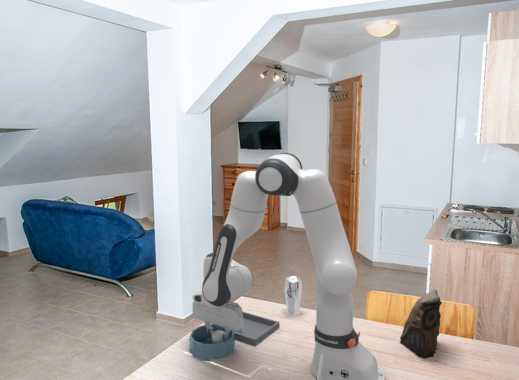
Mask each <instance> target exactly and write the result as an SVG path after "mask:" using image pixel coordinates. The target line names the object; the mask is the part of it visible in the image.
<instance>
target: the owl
mask: <svg viewBox="0 0 519 380" xmlns="http://www.w3.org/2000/svg"><path fill="white" fill-rule="evenodd" d="M440 298H441V297H440V296H439V295H438V290H437V289H436V288H435V289H434V290H431V291H430V292H427V293H425V294H423V295H422V296H421V297H420V298H418V300H417V301H416V302H415V303H414V305H413V306H412V308H411V310H410V311H409V314H408V318H407V319H406V321H405V323H404V325H403V330H402V333H401V335H400V337H399V339H400V341H399V344H401V345H402V346H404V347H405V348H406V349H408V350H409V351H410V352H411V353H413V354H414V355H415V356H416V357H418V358H421V359H424V360H425V359H426V360H427V359H430V358H433V357H435V354H436V353H437V352H436V351H437V350H438V348H437V346H438V336H439V335H440V329H441V315H442V314H441V312H440V310H441V309H440V308H441V305H442V303H443V302H442V300H441V299H440Z"/></svg>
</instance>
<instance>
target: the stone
mask: <svg viewBox="0 0 519 380" xmlns="http://www.w3.org/2000/svg"><path fill="white" fill-rule="evenodd" d="M223 333H225V332H224V331H221V330H217V331H214V332H212V344H217V343H221V342H225V339H224V338H223Z"/></svg>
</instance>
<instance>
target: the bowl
mask: <svg viewBox="0 0 519 380" xmlns="http://www.w3.org/2000/svg"><path fill="white" fill-rule="evenodd" d="M210 324H211V326H212V327H213V328H214V330H213V331H217V330H221V331H224V332H226V330H225V328H224V327H221V326H218V325H215V324H212V323H210ZM235 346H236V339H235V332H234V331H233V330H231V331H230V333H229V338H228V339H225V342H221V343H217V344H212V334H209V333H207V328H206V326H205V324H203V325H199V326H198V327H196V328H194V329H192V330H191V333H190V334H189V350H190V351H191V355H192V356H193V358H195V359H197V360H200V361H202V362H203V361H204V362H208V361H209V362H210V361H211V359H213V360H215V359H219V358H220V359H221V358H223V357H226V356H228V355H229V354H231V353H233V351H234V349H235Z"/></svg>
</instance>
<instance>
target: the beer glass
mask: <svg viewBox="0 0 519 380" xmlns="http://www.w3.org/2000/svg"><path fill="white" fill-rule="evenodd" d="M302 283H303V282H302V278H301V277H300V276H295V275H294V276H292V275H290V276H287V277H285V278H284V297H285V303H286V310H285V314H286V315H287V316H291V317H297V316H300V315H301V308H300V307H301V306H300V305H301V299H302V294H303V285H302Z"/></svg>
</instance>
